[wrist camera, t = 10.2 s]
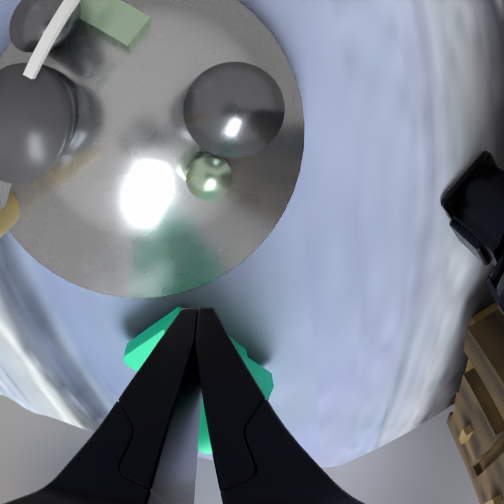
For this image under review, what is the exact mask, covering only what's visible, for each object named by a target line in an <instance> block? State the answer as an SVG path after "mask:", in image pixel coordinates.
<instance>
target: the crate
mask: <svg viewBox="0 0 504 504" xmlns="http://www.w3.org/2000/svg"><path fill="white" fill-rule="evenodd" d="M463 351H464V352H465V354H466V355H467V357H468V363H467V367H466V372H465V373H464V374H463V377H462V381H461V385H460V389H459V391H457V393H456V397H455V401H454V403H455V407H454V411H453V412H451V413H450V414H449V416H448V420H447V424H448V426H449V428H450V431H451V433H452V435H453V437H454V440H455V442H456V444H457V446H458V449H459V451H460V453H461V456H462V458H463V461H464V463H465V466H466V468H467V471H468V473H469V475H470V478H471V481H472V483H473V486H474V489H475V491H476V494H477V497H478V499H479V502H480V504H504V318H503V316H502V314H501V312H500V310H499V308H498V306H497V304H496V302H495V303H494V304H492V305H490V306H489V307H487V308H486V309H484V310H482V311H481V312H479V313H477V314H476V315H474V316H472V317H471V322H470V326H469V327H467V332H466V338H465V345H464V350H463Z"/></svg>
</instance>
